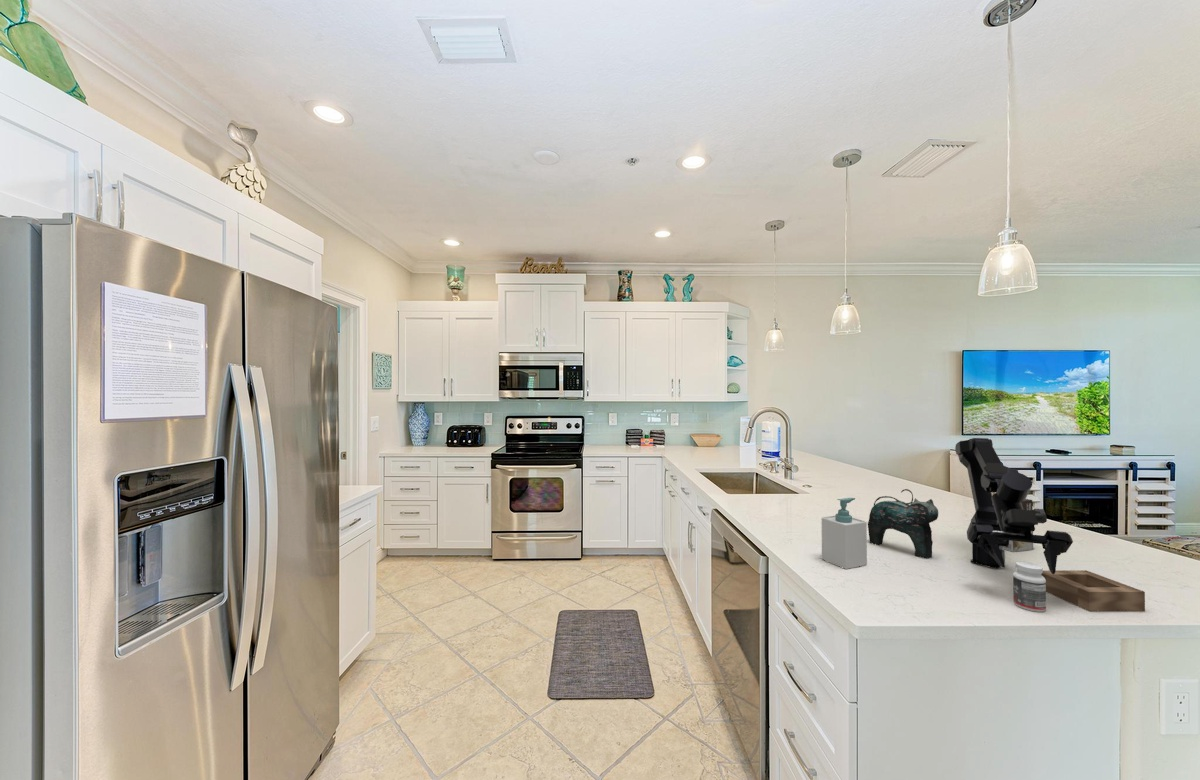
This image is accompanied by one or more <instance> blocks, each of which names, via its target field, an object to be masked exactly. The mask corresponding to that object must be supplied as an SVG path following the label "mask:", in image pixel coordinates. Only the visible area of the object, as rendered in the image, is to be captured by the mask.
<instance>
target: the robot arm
mask: <svg viewBox="0 0 1200 780" xmlns="http://www.w3.org/2000/svg"><path fill="white" fill-rule="evenodd" d="M954 448H955V454H956V455H957V457H958V460H959V462H960V464H961V465H963V466H964V467H965V468H966V469H967V474H968V479H969V484H970V489H971V494H972V499H973V505H974V509H975V510H974V511H975V512H974V514H973V516H972V518H971V519H970V523H969V525H968V527H967V530H966V538H967V540H968V541H969V542H970V543H971V547H972V551H971V552H972V559H971V560H970V561H969V562H970V563H972V564H976V565H980V566H984V567H989V568H990V569H991V568H993V569H997V570H999V569H1000V568H1002V569H1004V568H1005V566H1006V565H1005V564H1006V553H1005V552H1006V550H1004V549H1002V546H1005V547H1008V544H1009V540H1011V541H1017V542H1027V543H1033V544H1038V545H1041V546H1042V548H1043V550H1044V551H1043V552H1042V553H1043V555H1044V559H1045V561H1046V564H1047V567H1048V571H1050V572H1051V573H1052V574H1055V572H1056V571H1057V570H1056V569H1057V561H1058V556H1060V555H1061V554H1064V553H1065V554H1066V553H1067V552H1068V550H1069V549H1070V548H1071V545H1072V544H1073V542H1074V540H1073V538H1072V536H1071V535H1070V534H1069V533H1068V532H1066V531H1061V530H1046V531H1045V533H1044V535H1042V534H1041V535H1039V534H1033V535H1032V533H1031V531H1033V532H1035V530H1036V526H1038V525H1039V524H1044V523H1047V522H1048V518H1047V514H1046V512H1045V509H1043V508H1033V510H1023V507H1022V504H1021V502H1023V501H1025V499H1027V497H1028V495H1029V492H1030V491H1031V489H1032V487H1033V481H1032V479H1030V477H1028V476H1027V475H1025V474H1023V473H1020V472H1019V470H1018V469H1016V468H1010V467H1008V466H1005V465H1004V464H1003V463H1002V460H1001V459H1000V457H999V455H998V454H997V452H996V450H995V447H993V440H992V439H991V438H990V439H989V438H986V437H971V438H969V439H967V440H960V441H958V442H957V443H956V444H955V447H954ZM992 493H994V494H992Z"/></svg>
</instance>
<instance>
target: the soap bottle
mask: <svg viewBox="0 0 1200 780" xmlns="http://www.w3.org/2000/svg"><path fill="white" fill-rule="evenodd" d="M855 500H856V498H855V497H847V498H845V497H844V498H837V501H839V502H840V503H839V505H840V509H838V510H837V513H836V514H834V515H830V516H829V515H828V516H823V517H821V560H822V559H824V560H826V561H825V562H827V561H828V563H829V562H830V563H829V564H832V563H833V564H832V565H834V564H835V566H837V565H838V566H837V567H839V566H840V568H842V567H843V568H842V569H844V568H845V569H844V570H848V569H849V568H850V569H855V568H858V567H859V566H860V567H864V566H867V565H868V557H867V556H868V550H867V549H868V545H867V544H868V539H867V538H868V534H867V530H868V522H867V521H865V520H862V519H860V518H859V519H858V518H855V517H853V515H852V514H850V511H849V510H848V509H847V507H848V505H847V504H849V503H851V502H853V501H855ZM824 560H823V561H824ZM854 567H855V568H854ZM850 569H849V570H850Z"/></svg>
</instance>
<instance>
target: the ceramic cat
mask: <svg viewBox="0 0 1200 780" xmlns="http://www.w3.org/2000/svg"><path fill="white" fill-rule="evenodd" d="M905 491H907V492H909V493H911V501H910V502H905V501H902V500H899V499H898V498H896V497H894V496H887V495H885V496H879V497H878V498H876V499H875V501H874V503H873V506H872V507H871V509H870V512H869V515H868V516H869V517H868V522H867V530H868V538H869V543H870V544H872V543H873V545H875V544H876V546H881V545H883V542H884V537H885V533H886V531H887V530H894V531H897V532H899V533H903V534H906V535H907V536H908V537H909V538H910V540H911V541H912V544H913V546H914V557H919V558H923V559H925V560H927V559H931V558H933V543H934V541H933V539H932V538H933V536H932V535H933V534H932V532H933V531H932V528H931V525H930V523H934V522H935V521H937V520H938V518H939V509H938V507H937V506H935V505H934V501H933V499H932V498H930V499H928V500H926V501H919V500H918V499H917V498H916V497H915V498H914V494H913V492H912V491H911V490H910V489H908V488H905V489H902V490H901V492H900V493H903V492H905ZM886 498H890V499H893V500H883V501H879V500H880V499H886ZM878 501H879V502H878Z"/></svg>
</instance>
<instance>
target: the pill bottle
mask: <svg viewBox="0 0 1200 780" xmlns="http://www.w3.org/2000/svg"><path fill="white" fill-rule="evenodd" d="M1015 568H1016V570H1015V571H1014V572H1013V573H1012V578H1013V580H1012V582H1013V584H1012V585H1013V586H1012V587H1013V589H1012V590H1013V595H1012V597H1013V603H1014V605H1016V606H1017V607H1018V608H1021V609H1023V610H1027V611H1031V612H1037V613H1039V612H1040V613H1041V612H1042V613H1043V612H1046V610H1047V592H1046V579H1045V578H1044V577H1043V576H1042V575H1041V574H1042V573H1043V571H1044V569H1043V566H1042V565H1039V564H1037V563H1034V562H1029V561H1016V562H1015Z"/></svg>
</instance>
